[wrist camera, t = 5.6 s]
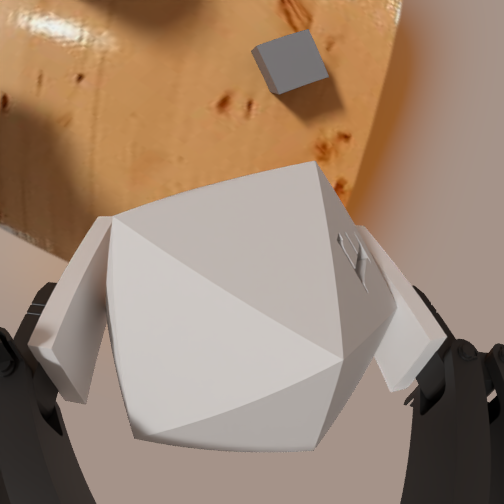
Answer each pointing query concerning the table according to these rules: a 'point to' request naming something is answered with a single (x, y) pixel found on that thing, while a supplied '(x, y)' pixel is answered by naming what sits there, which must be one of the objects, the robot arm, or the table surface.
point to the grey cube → (289, 62)
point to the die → (242, 312)
